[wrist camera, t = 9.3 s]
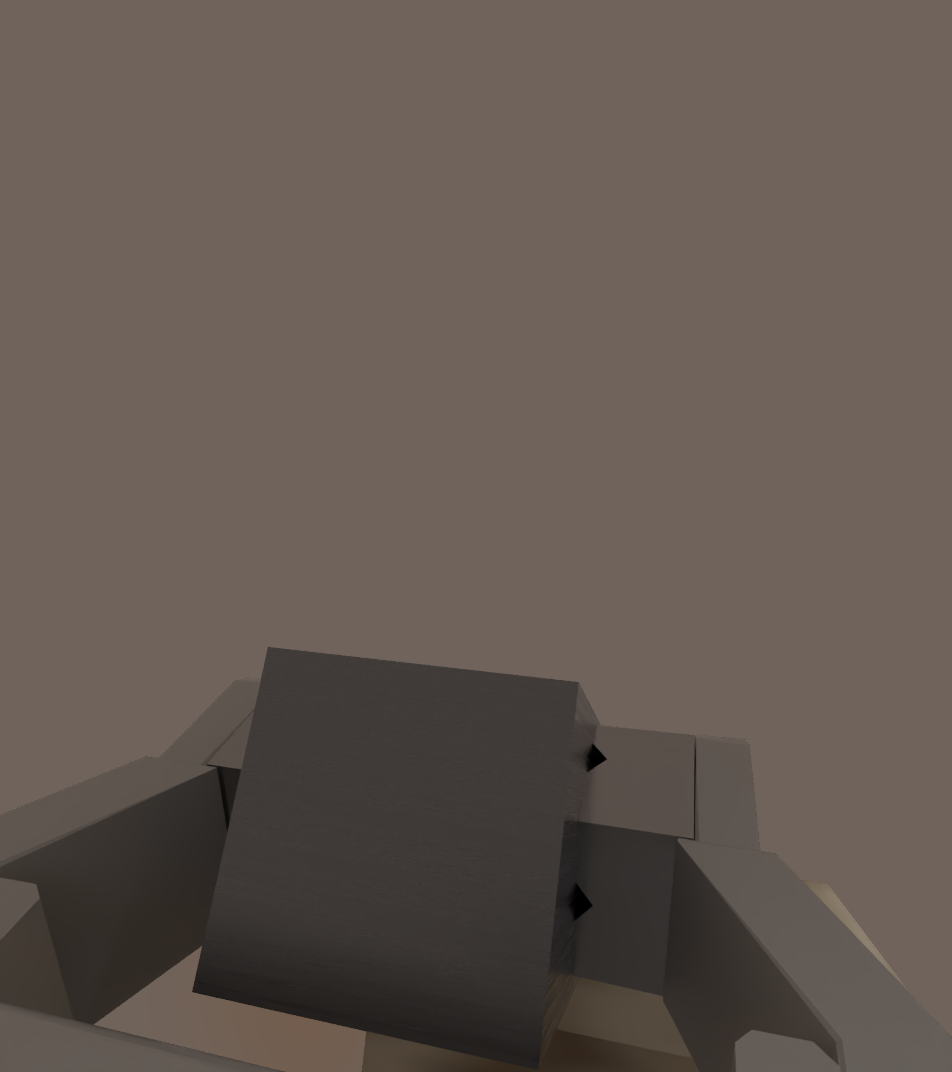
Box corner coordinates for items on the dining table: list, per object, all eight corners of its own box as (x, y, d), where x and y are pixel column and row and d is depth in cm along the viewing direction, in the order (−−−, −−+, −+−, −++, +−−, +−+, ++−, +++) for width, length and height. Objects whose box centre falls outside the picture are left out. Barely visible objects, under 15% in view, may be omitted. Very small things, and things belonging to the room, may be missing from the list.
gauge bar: (554, 856, 28) (562, 781, 29) (628, 868, 28) (635, 791, 28) (192, 991, 6) (267, 646, 7) (538, 1068, 5) (578, 681, 6)
